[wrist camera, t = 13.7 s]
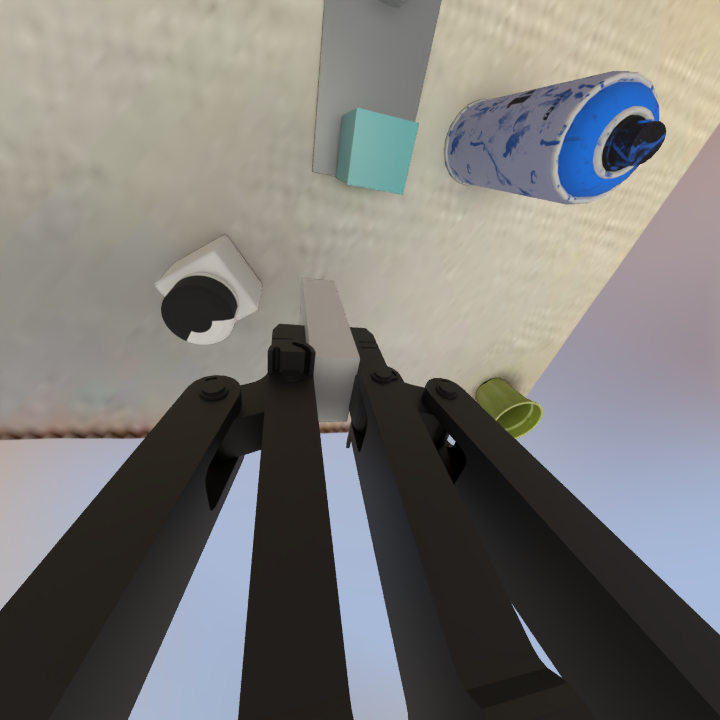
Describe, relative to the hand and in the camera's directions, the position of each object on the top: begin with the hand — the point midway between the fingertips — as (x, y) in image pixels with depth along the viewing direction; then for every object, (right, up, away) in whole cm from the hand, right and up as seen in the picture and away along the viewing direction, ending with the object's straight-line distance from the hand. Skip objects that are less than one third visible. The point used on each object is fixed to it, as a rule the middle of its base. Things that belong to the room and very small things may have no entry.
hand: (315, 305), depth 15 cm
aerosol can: (+15, +22, +19) cm, 33 cm away
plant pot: (+28, -8, +44) cm, 52 cm away
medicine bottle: (-15, +8, +22) cm, 27 cm away
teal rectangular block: (+3, +19, +16) cm, 25 cm away
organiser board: (+3, +24, +14) cm, 28 cm away
